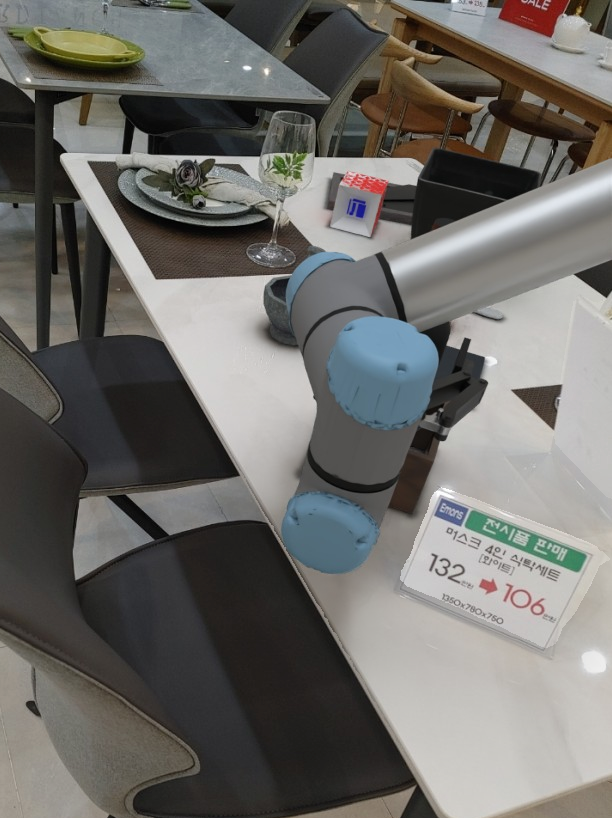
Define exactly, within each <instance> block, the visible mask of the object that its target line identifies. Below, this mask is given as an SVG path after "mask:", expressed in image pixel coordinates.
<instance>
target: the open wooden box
mask: <svg viewBox="0 0 612 818" xmlns="http://www.w3.org/2000/svg"><path fill="white" fill-rule="evenodd" d="M450 401H451V400H450ZM450 401H448V402H445V403H443V404H440V405H438V406H435V407H433V408H430V409H428V410H426V411H425V412H426V415H432V414H433V413H435V412H437V411H438V409H439V408H442V409H444V408H445V406H446V405H447V404H448V403H449V402H450ZM434 435H435V432H434V431H431V430H428V429H425V428H421V429H419V430H418V431H416V433H415V436H414V438H413V440H412V443H411V445H410V447H414V448H417V449H419V450H423V451H425V452H424V453H422V452H419V451H416V450H413V449H410V448H409V450H408V453H407V455H406V458H405V461H404V463H403V466H402V469H401V472H400V475H399V479H398V481H397V484H396V487H395V490H394V492H393V495H392V498H391V500H390V503H389V506H388V507H390V508H393V509H395V510H398V511H401V512H404V513H407V514H410V515H413V513H414V511H415V508H416V506H417V504H418V501H419V499H420V496H421V494H422V491H423V489H424V486H425V484H426V481H427V479H428V476H429V474H430V471H431V469H432V467H433V465H434V462H435V459H436V455H437V452H438V449H439V447H440V446H439V445H440V444H441V443H440V442H441V441H438V440H436V439H435V437H434Z"/></svg>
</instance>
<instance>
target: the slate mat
mask: <svg viewBox="0 0 612 818" xmlns="http://www.w3.org/2000/svg"><path fill="white" fill-rule="evenodd" d="M459 350H460V348H456V347H453V346H449V345H448V344H447V345H446V348H445V350H444V353H443V356H442V358H441V361H440V364H439V367H438V369H437V372H436V375H435V378H434V381H435V380H437V379H440V378H443V377H446V376H448V375H451V373H452V370H453V367H454V364H455V361H456V358H457V355H458V353H459ZM465 359H468V360H471V361H474V363H475V365H474V368H473V372H472V377H473V378H474V379H475V380H477V379H479V378H481V375H482V371H483V367H484V363H485V360H486V357H485V356H482V355H479V354H476V353H473V352H469V351H467V355H466V358H465Z"/></svg>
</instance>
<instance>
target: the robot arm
mask: <svg viewBox="0 0 612 818" xmlns="http://www.w3.org/2000/svg"><path fill="white" fill-rule="evenodd" d="M306 258H307V257H306ZM306 258H305V259H304V260H303V261H301V263H300V264H299V265H297V267H296V268H295V269H294V271H292V274H291V277H290V279H289V281H288V285H287V289H286V304H287V309H288V314H289V318H290V319H289V325H290V328H291V331H292V333H293V335H294V336H295V337H296V340H297V343H298V345H297V346H298V348H299V351H300V355H301V357H302V360H303V367H304V369H305V372H306V375H307V378H308V381H309V385H310V388H311V391H312V394H313V396H312V398H313V400H315V402H316V413H315V419H314V423H313V428H312V433H311V436H310V440H309V443H308V447H307V450H306V454H305V457H304V462H303V466H302V469H301V473H300V476H299V477H300V478H299V481H298V484H297V486H296V490H295V492H294V494H293V496H292V497H290V498H289V500H288V502H287V505H286V506H287V507H286V511H285V514H284V516H283V519H282V521H281V525H280V534H281V539H282V542H283V544H284V546H285V548H286V550H287V551H288V552H289V554H290V555H291V556H292V557H293V558H294V559H295V560H297V562H298V563H300V564H302V565H303V566H304V567H306V568H309V569H310V568H311V569H312V570H315V571H319V572H320V573H323V574H327V575H328V574H329V575H343V574H347V573H350V572H353V571H355V570H357V569H358V568H360V567H361V566H363V565H364V564H365V562H366V561H367V560H368V558H369V556H370V554H371V552H372V549H373V547H374V546H375V545H376V544H377V542H378V539H379V537H380V532H381V531H380V530H381V527H382V524H383V521H384V520H385V516H386V514H387V511H388V508H389V507H390V506H389V503H390V500H391V498H392V495H393V492H394V490H395V487H396V484H397V481H398V479H399V475H400V472H401V469H402V466H403V463H404V461H405V458H406V455H407V453H408V450H409V449H410V448H411V446H410V445H411V443H412V440H413V438H414V436H415V433H416V431H418V430H419V429H421V428H425V429H428V430H431V431H434V432H435V435H434V437H435V439H436V440H438V441H440V442H446V441H447V439H448V436H449V434H450V432H451V429H452V428H453V427H454V426H455V425H457V424H458V423H459V422H460V421H462V419H464V418H465V417H466V416H467V415H468V414H470V412H472V411H473V410H474V409H475V408H476V407H478V405H480V404H481V401H482V400H483V397H484V395H485V392H486V390H487V388H488V385H489V381H488V380H487V379H484V378H482V377H480V378H479V379H477V380H475V379H474V378H473V377H472V372H473V368H474V365H475V363H474V361H471V360H468V359H465V358H466V355H467V352H469V349H470V345H471V342H472V338H469V337H464V338H463V340H462V343H461V345H460V347H459V349H460V350H459V353H458V355H457V358H456V361H455V364H454V367H453V370H452V373H451V375H448V376H446V377H443V378H440V379H437V380H435V381H434V378H435V375H436V372H437V368H438V362H439V357H438V352H437V349H436V347H435V345H434V343H433V342H432V340H431V339H430V338H429V337H428V336H426V335H424V334H421V333H419V332H422V331H425V330H427V329H430V328H433V327H435V326H438V325H440V324H443V323H446V322H448V321H449V322H452V321H453V320H456V319H460V318H461V317H464V316H467V315H469V314H472V313H475V311H478V310H480V309H483V308H485V307H487V308H489V307H490V306H493V305H496V304H498V303H502V302H504V301H507V300H509V299H511V298H514V297H518V296H519V295H523V294H525V293H528V292H530V291H533V290H536V289H539V288H541V287H543V286H546V285H549V284H551V283H554V282H556V281H559V280H563V279H565V278H567V277H570V276H572V275H575V274H578V273H580V272H584V271H586V270H588V269H591V268H594V267H596V266H599V265H602V264H604V263H608V262H609V261H612V157H611V158H608V159H606V160H602V161H601V162H598V163H596V164H593V165H591V166H588V167H587V168H584V169H582V170H579V171H576V172H574V173H572V174H569V175H566V176H564V177H562V178H559V179H557V180H554V181H552V182H550V183H546V184H544V185H541V186H540V187H539V188H537V189H534V190H532V191H529V192H527V193H524V194H522V195H520V196H517V197H515V198H512V199H510V200H507V201H505V202H502V203H500V204H497V205H495V206H492V207H490V208H488V209H485V210H483V211H480V212H478V213H475V214H473V215H470V216H468V217H465V218H463V219H460V220H458V221H456V222H453V223H451V224H448V225H446V226H443V227H441V228H438V229H436V230H433V231H431V232H428V233H426V234H424V235H421V236H419V237H416V238H414V239H411V238H410V239H409V240H406V241H404V242H402V243H399V244H396V245H394V246H392V247H389V248H387V249H384V250H382V251H379V252H377V253H373V254H372V255H368V256H365V257H364V258H360V259H359V260H356V259H354V258H353V257H352V256H351V255H349V254H347V253H343V252H340V251H339V252H337V251H326V252H321V253H318V254H315V255H313V256H311V257H309V258H307V259H306ZM450 400H451V401H450ZM448 401H450V402H449V403H448V404H447V405H446V406H445V408H444V409H442V408H439V409H438V411H437V412H435V413H433V414H432V415H426V412H425V411H426V410H428V409H430V408H433V407H435V406H438V405H440V404H443V403H445V402H448Z"/></svg>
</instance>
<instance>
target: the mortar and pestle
mask: <svg viewBox="0 0 612 818" xmlns="http://www.w3.org/2000/svg"><path fill="white" fill-rule="evenodd" d="M306 252H307V255H306V257H305V260H306V259H307V258H309V257H311V256H313V255H315V254H318V253H321V252H327V251H326V250H325V249H324V248H322V247H319V246H316V245H309V246H308V247H307V250H306ZM291 275H292V274H291ZM291 275H283V276H276V277H275V276H274V277H272V278H271V280H269V281H268V282H267V283H266V284H264V289H263V295H262V296H263V298H262V299H263V302H262V303H263V307H264V310H265V313H266V316H267V318H268V320H269V323H270V326H269V331H268V332H269V333H270V335H271V338H272V339H274V340H276V341H278V342H279V343H281V344H284V345H289V346H294V347H295V346H298V343H297V340H296V337H295V336H294V335H293V333H292V331H291V328H290V325H289V319H290V318H289V314H288V309H287V304H286V289H287V285H288V281H289V279H290V277H291Z"/></svg>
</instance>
